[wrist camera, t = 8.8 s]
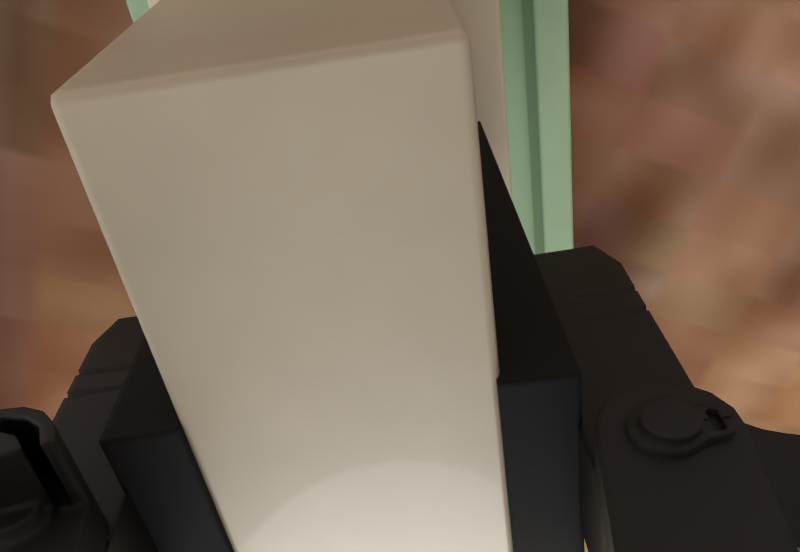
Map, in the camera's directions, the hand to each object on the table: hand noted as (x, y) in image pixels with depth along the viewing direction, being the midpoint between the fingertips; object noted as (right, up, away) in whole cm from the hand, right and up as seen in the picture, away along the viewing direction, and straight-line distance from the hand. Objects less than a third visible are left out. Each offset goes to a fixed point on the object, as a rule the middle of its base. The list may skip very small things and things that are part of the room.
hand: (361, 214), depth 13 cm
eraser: (0, +2, +3) cm, 3 cm away
